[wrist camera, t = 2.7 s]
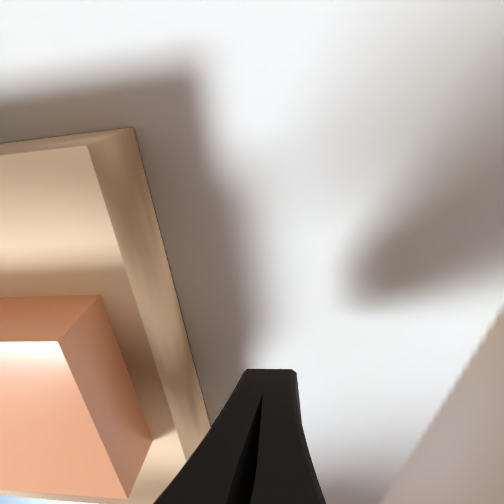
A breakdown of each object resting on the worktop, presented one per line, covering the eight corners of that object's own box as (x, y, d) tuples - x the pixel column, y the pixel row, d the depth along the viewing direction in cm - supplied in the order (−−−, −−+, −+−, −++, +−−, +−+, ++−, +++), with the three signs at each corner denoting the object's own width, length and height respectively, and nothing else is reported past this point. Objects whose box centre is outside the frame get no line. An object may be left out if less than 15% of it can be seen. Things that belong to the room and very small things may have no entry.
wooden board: (217, 453, 17) (202, 512, 15) (-13, 441, 19) (-55, 490, 17) (133, 127, 11) (86, 145, 9) (-187, 166, 13) (-287, 188, 11)
